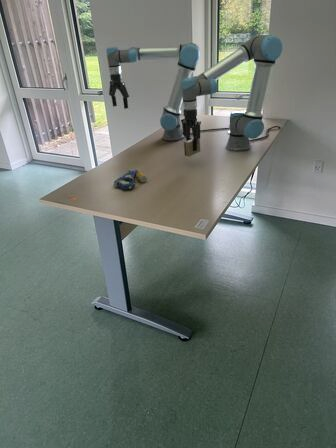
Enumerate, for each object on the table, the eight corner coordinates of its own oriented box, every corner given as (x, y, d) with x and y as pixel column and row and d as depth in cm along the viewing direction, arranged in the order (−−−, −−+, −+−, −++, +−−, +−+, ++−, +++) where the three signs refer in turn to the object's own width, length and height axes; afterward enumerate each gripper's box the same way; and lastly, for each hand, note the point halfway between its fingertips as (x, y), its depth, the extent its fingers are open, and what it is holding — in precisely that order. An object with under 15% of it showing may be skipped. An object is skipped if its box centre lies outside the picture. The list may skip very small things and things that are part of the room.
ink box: (196, 150, 201) (195, 136, 197) (200, 151, 199) (200, 137, 194) (184, 155, 196) (183, 141, 191) (188, 157, 193) (188, 142, 189)
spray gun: (153, 176, 189) (130, 173, 195) (152, 169, 186) (129, 167, 193) (134, 192, 173) (110, 189, 180) (133, 185, 171) (109, 182, 177)
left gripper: (100, 73, 224) (106, 106, 235) (121, 75, 208) (126, 110, 219) (109, 72, 228) (114, 104, 239) (131, 73, 212) (135, 108, 223)
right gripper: (174, 108, 187) (177, 149, 199) (196, 111, 176) (198, 154, 188) (183, 105, 191) (186, 145, 203) (206, 108, 180) (207, 150, 192)
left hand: (120, 107), depth 229 cm, fingers open, 13 cm apart
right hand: (192, 149), depth 196 cm, fingers closed on ink box, 4 cm apart
